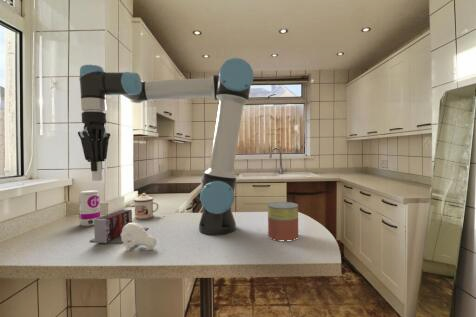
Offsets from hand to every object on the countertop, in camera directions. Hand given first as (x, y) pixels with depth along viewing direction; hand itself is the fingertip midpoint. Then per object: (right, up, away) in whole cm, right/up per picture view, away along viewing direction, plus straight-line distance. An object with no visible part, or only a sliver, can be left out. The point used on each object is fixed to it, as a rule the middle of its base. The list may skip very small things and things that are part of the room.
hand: (97, 180), depth 93 cm
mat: (+3, -22, +12) cm, 26 cm away
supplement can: (-18, -22, +29) cm, 41 cm away
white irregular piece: (+16, -23, -3) cm, 28 cm away
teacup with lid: (+3, -22, +41) cm, 46 cm away
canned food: (+66, -22, +7) cm, 70 cm away
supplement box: (0, -18, +1) cm, 18 cm away
